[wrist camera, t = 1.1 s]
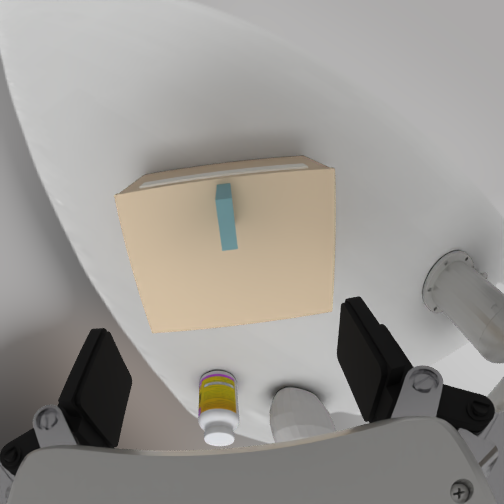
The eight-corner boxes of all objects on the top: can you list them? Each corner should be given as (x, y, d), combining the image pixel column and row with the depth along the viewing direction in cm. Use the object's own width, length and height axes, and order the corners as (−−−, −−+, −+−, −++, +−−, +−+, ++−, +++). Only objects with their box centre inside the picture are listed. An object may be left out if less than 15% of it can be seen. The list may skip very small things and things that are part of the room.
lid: (332, 167, 27) (359, 180, 22) (330, 308, 34) (348, 342, 28) (116, 193, 26) (91, 212, 21) (153, 329, 33) (143, 366, 27)
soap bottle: (252, 399, 54) (268, 520, 30) (281, 373, 52) (310, 504, 28) (305, 416, 58) (332, 519, 35) (334, 392, 56) (372, 500, 32)
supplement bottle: (195, 371, 50) (192, 431, 38) (232, 366, 50) (236, 426, 38) (205, 394, 52) (204, 450, 41) (239, 389, 52) (244, 446, 41)
